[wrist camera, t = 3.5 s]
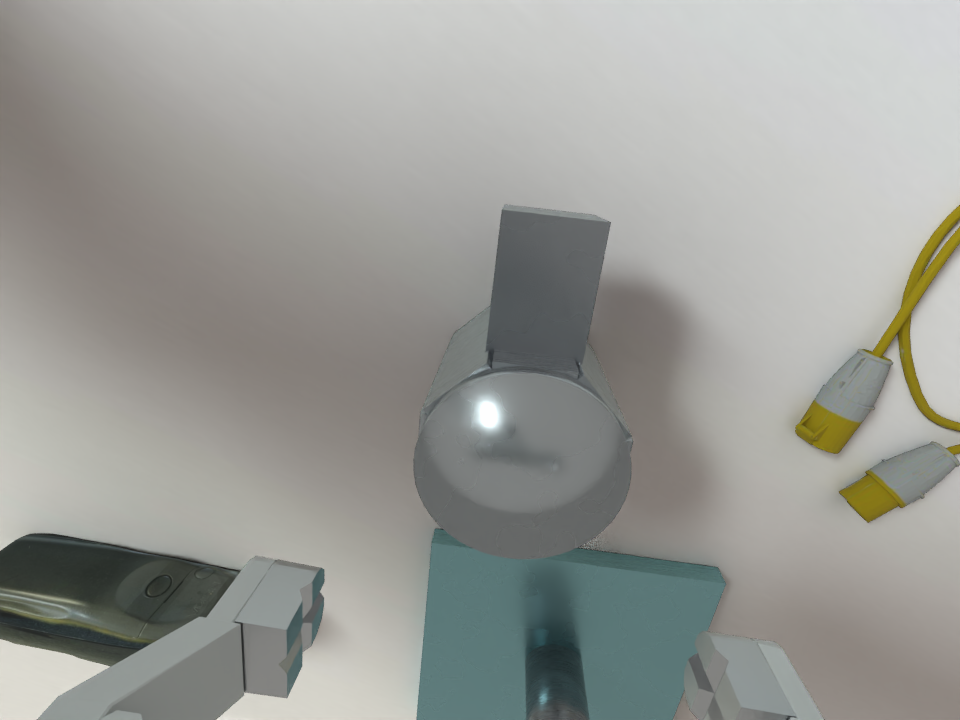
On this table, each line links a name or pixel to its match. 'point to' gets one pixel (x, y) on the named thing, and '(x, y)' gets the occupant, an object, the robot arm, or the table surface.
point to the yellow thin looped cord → (859, 390)
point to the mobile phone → (99, 596)
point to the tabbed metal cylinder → (527, 402)
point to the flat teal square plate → (559, 634)
